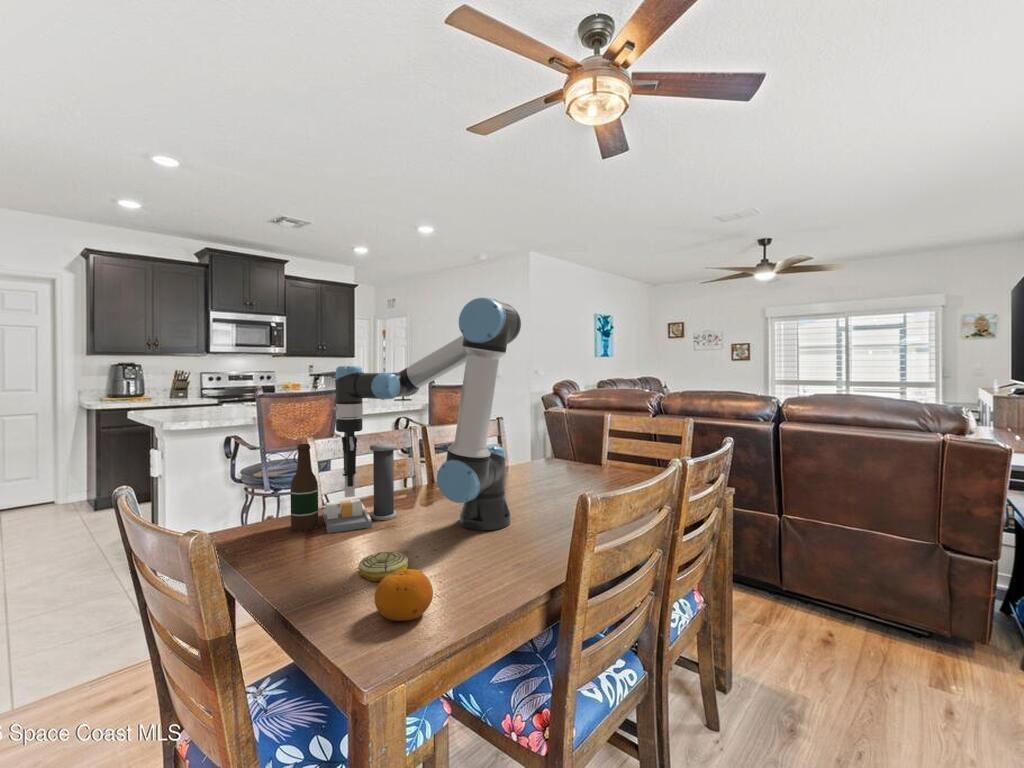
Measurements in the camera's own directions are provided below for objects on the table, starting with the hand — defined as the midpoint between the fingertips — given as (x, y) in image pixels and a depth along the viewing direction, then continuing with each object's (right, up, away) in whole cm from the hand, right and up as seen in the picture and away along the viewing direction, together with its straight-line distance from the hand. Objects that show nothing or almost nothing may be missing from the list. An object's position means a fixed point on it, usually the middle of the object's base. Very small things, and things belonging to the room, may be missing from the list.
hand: (349, 496), depth 144 cm
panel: (-1, -7, 0) cm, 7 cm away
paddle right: (+2, -5, +1) cm, 6 cm away
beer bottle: (-11, -8, -6) cm, 15 cm away
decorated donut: (+20, -9, -36) cm, 42 cm away
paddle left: (-5, -5, -2) cm, 7 cm away
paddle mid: (-1, -5, 0) cm, 5 cm away
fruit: (+28, -10, -54) cm, 62 cm away
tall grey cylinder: (+9, -7, +5) cm, 12 cm away
